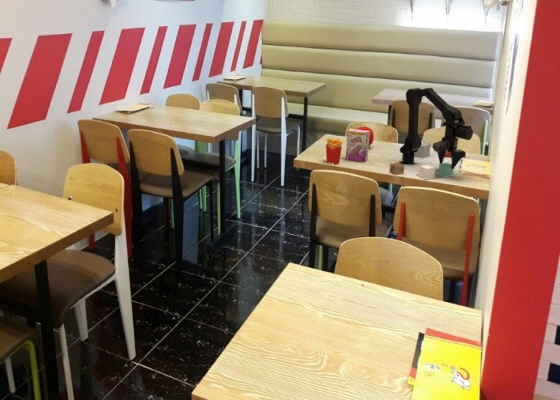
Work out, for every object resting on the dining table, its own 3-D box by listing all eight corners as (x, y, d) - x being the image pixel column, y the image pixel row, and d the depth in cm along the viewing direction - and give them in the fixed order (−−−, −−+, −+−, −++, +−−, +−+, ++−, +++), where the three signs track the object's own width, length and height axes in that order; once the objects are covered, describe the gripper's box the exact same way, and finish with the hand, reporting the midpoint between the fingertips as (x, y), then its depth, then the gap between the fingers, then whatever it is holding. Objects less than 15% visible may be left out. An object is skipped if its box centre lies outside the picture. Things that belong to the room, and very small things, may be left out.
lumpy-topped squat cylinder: (406, 155, 299) (408, 140, 296) (414, 150, 309) (415, 135, 306) (425, 158, 294) (426, 143, 291) (432, 153, 304) (433, 138, 301)
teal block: (446, 172, 271) (447, 162, 269) (452, 175, 267) (453, 165, 265) (438, 173, 269) (439, 163, 267) (444, 176, 265) (445, 166, 263)
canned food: (456, 157, 296) (459, 138, 292) (441, 157, 297) (443, 137, 293) (455, 154, 303) (457, 135, 299) (440, 153, 304) (442, 134, 300)
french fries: (324, 161, 287) (324, 138, 282) (328, 160, 290) (329, 136, 285) (338, 165, 281) (339, 141, 277) (342, 163, 284) (344, 139, 280)
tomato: (350, 146, 315) (351, 125, 310) (365, 144, 320) (367, 123, 315) (360, 151, 306) (362, 129, 301) (376, 149, 310) (378, 127, 305)
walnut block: (389, 173, 271) (390, 163, 269) (398, 172, 273) (398, 162, 271) (394, 176, 267) (395, 166, 265) (403, 175, 268) (404, 165, 266)
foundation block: (419, 175, 266) (420, 165, 264) (428, 174, 267) (429, 164, 265) (425, 178, 261) (426, 168, 259) (434, 177, 263) (435, 167, 261)
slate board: (414, 175, 267) (414, 174, 267) (446, 171, 273) (446, 170, 273) (425, 181, 259) (425, 180, 259) (457, 177, 266) (457, 176, 265)
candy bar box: (345, 160, 290) (347, 130, 284) (348, 157, 295) (349, 128, 289) (365, 162, 286) (367, 132, 280) (368, 160, 290) (370, 130, 284)
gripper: (425, 132, 266) (421, 162, 272) (448, 142, 250) (444, 173, 255) (443, 130, 270) (440, 160, 275) (468, 140, 253) (463, 171, 259)
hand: (446, 166), depth 266 cm, fingers open, 9 cm apart
